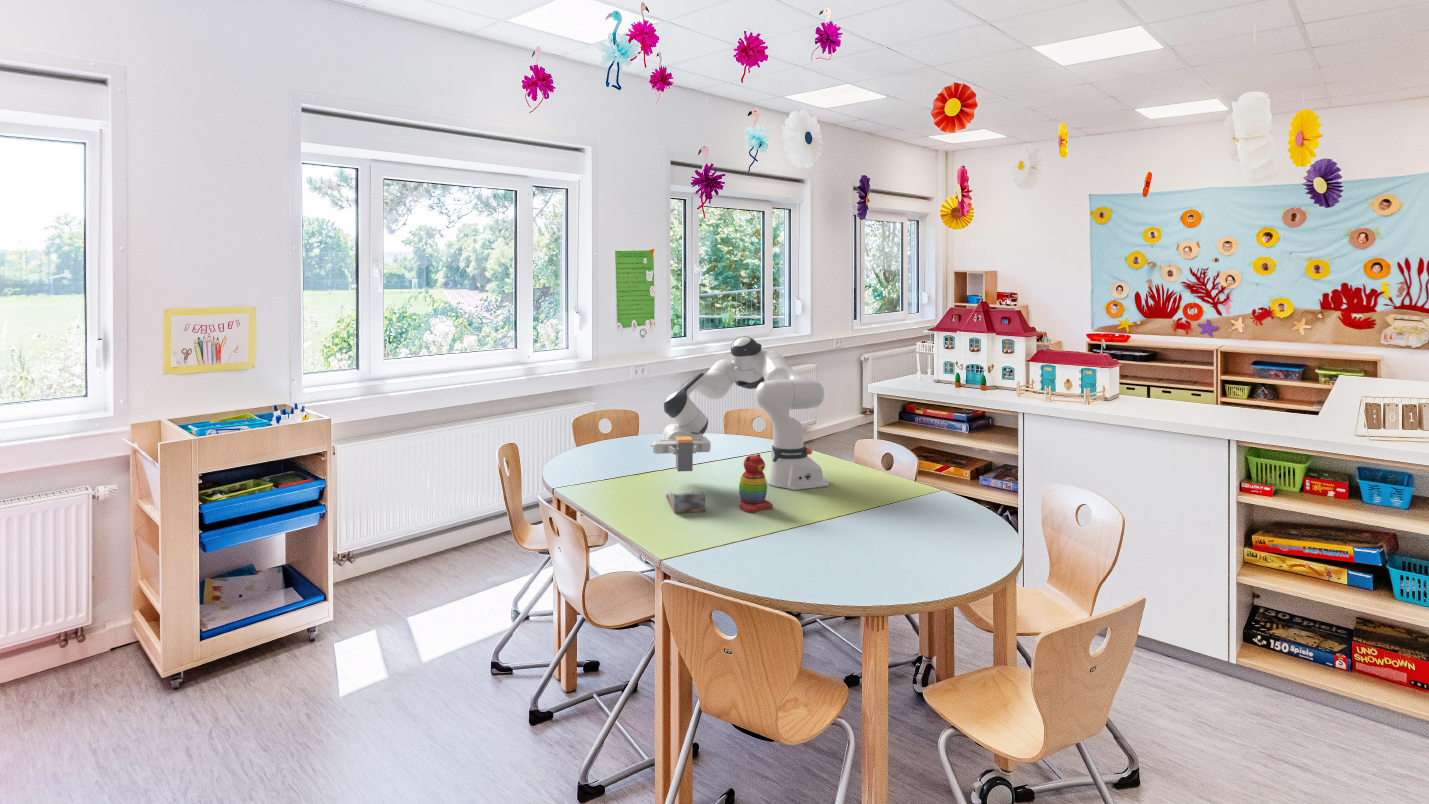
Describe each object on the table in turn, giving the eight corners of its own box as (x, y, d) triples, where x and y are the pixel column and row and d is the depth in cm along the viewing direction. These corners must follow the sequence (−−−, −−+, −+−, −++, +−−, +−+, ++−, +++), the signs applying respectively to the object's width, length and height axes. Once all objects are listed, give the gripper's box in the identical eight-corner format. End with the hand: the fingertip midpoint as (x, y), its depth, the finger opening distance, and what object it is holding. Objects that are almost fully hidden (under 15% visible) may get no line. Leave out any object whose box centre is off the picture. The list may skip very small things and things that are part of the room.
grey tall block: (690, 467, 265) (690, 436, 263) (692, 470, 261) (692, 439, 259) (675, 467, 264) (676, 436, 262) (678, 471, 260) (678, 439, 258)
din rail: (694, 495, 268) (694, 479, 267) (704, 511, 250) (704, 493, 249) (666, 497, 266) (666, 480, 265) (674, 513, 248) (674, 495, 247)
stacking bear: (750, 513, 249) (751, 460, 246) (731, 506, 257) (732, 454, 254) (775, 508, 255) (776, 456, 252) (756, 500, 263) (757, 450, 260)
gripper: (649, 434, 271) (654, 443, 258) (706, 432, 275) (713, 441, 262) (649, 451, 272) (654, 461, 259) (706, 449, 276) (713, 459, 263)
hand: (684, 451), depth 260 cm, fingers closed on grey tall block, 5 cm apart
